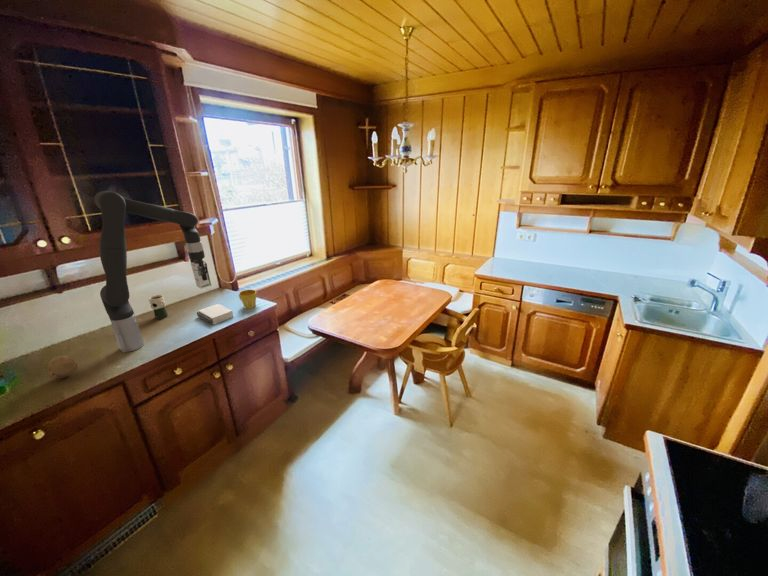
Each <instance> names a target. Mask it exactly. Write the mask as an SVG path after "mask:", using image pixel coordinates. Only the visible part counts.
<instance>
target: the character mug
mask: <svg viewBox="0 0 768 576" xmlns="http://www.w3.org/2000/svg"><path fill="white" fill-rule="evenodd" d="M148 301H149V304H150V309H152V310H153V315H154V317H155V319H157V320H158V319H164V318H165V317H167V316H168V313H167V310H166V308H165V307H166V301H165V298H164V295H163V294H155V295H152V296H150V297H148Z"/></svg>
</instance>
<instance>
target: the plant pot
mask: <svg viewBox="0 0 768 576" xmlns="http://www.w3.org/2000/svg"><path fill="white" fill-rule="evenodd" d="M238 297H239V300H240V301H241V303H242V306H243V307H244V309H252V308H255V307H256V305H257V304H256V303H257V297H258V293H257V291H256V290H255V289H244V290H241V291H240V292H239V293H238Z"/></svg>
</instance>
